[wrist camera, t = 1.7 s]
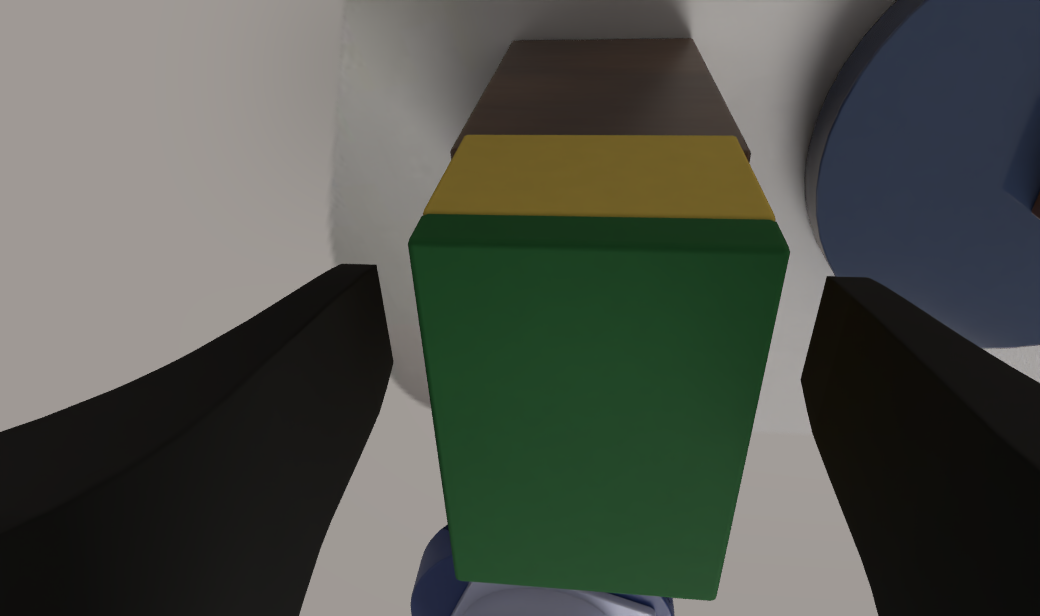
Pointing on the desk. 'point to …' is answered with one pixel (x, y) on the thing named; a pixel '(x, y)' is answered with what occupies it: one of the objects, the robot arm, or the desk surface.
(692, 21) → the desk surface
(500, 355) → the sponge
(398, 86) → the desk surface
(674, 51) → the brown wooden block
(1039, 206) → the orange-brown cube
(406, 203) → the desk surface
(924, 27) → the plate
